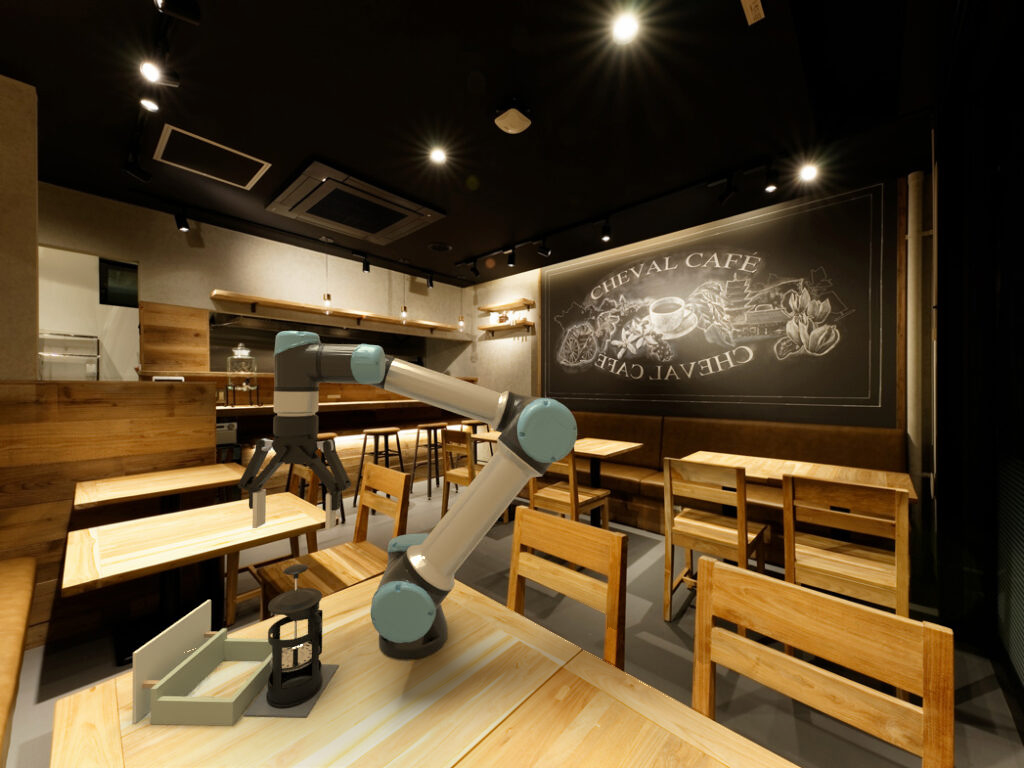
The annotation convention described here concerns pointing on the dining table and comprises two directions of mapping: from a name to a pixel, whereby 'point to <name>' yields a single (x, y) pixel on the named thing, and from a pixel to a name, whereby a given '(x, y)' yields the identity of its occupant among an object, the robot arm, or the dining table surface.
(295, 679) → the plate
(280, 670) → the french press
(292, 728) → the dining table surface
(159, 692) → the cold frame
